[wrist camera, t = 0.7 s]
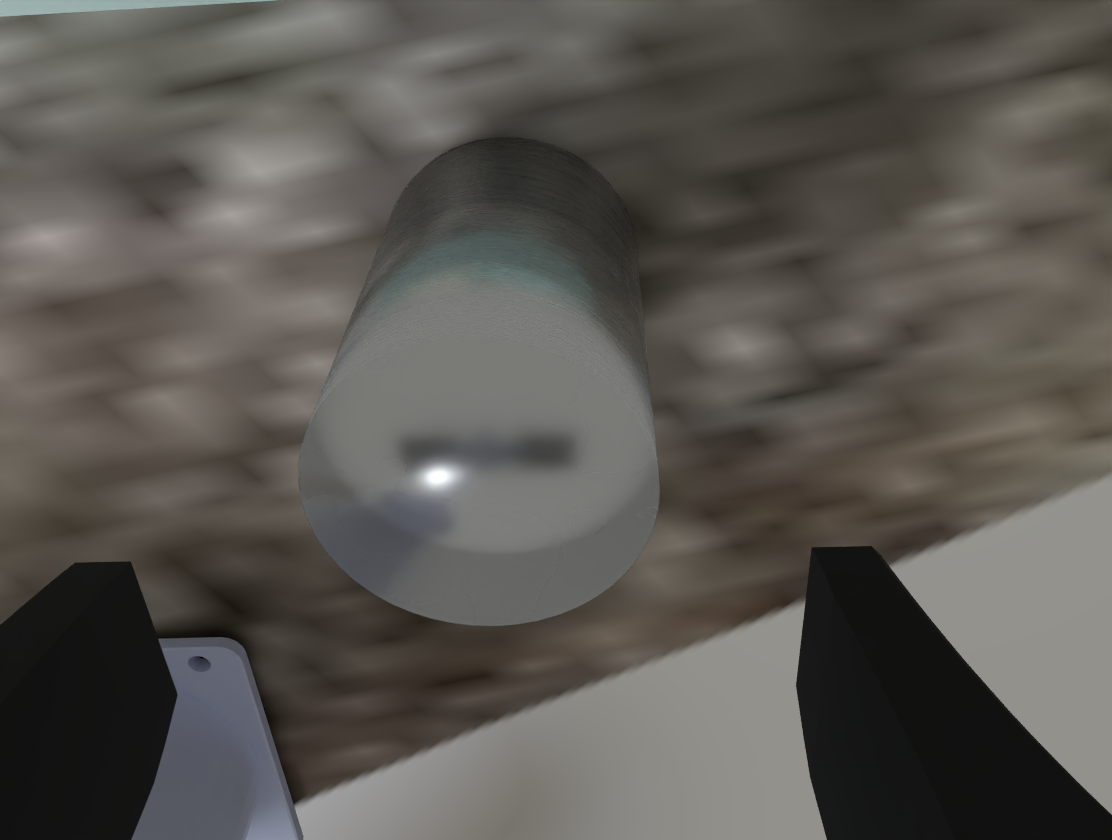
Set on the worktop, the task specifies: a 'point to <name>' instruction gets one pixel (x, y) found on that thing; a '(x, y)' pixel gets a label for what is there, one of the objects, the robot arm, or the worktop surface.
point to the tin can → (490, 396)
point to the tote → (94, 5)
